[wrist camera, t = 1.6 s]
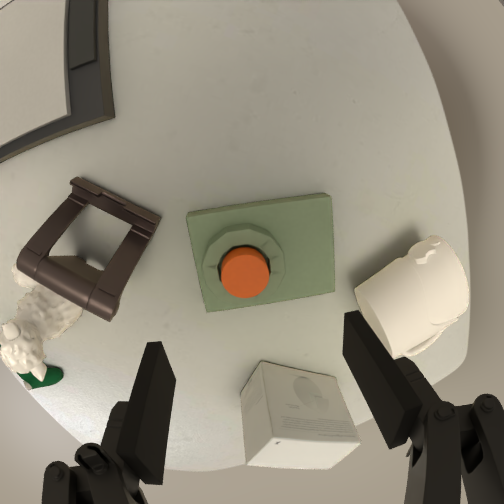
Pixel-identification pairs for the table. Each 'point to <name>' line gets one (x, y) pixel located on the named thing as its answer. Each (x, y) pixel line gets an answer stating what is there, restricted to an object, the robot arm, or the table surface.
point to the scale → (52, 71)
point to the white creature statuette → (34, 326)
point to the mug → (415, 297)
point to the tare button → (244, 272)
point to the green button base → (267, 247)
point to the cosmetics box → (295, 419)
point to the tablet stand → (76, 269)
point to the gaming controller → (50, 378)
